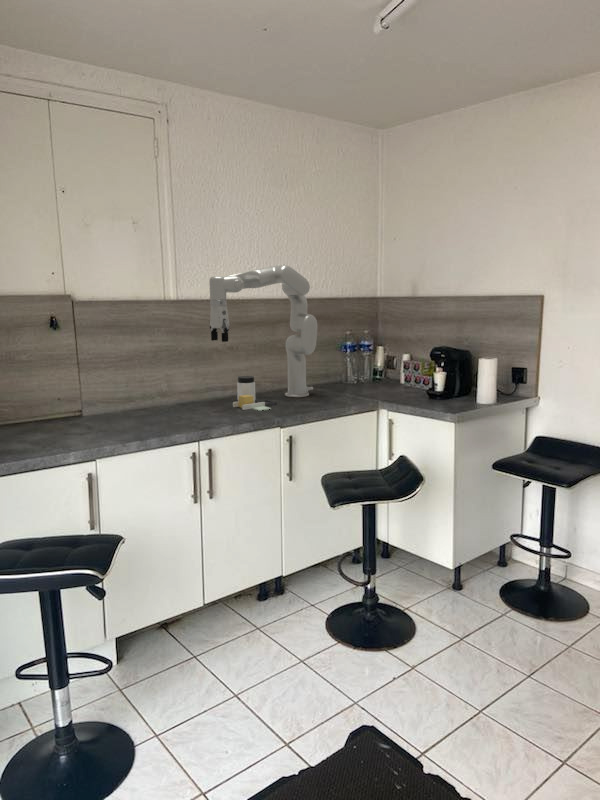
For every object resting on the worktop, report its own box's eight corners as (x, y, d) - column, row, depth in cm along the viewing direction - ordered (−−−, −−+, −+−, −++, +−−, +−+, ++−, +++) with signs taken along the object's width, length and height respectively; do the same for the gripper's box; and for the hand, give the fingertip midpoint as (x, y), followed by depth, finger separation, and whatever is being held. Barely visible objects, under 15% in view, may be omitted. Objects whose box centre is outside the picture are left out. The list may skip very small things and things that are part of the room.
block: (247, 405, 276) (247, 394, 274) (253, 407, 272) (253, 396, 271) (238, 407, 273) (238, 395, 272) (244, 408, 269) (244, 397, 268)
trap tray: (267, 402, 284) (267, 399, 284) (276, 404, 278) (276, 402, 278) (255, 403, 280) (255, 401, 279) (264, 406, 274) (264, 403, 274)
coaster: (263, 407, 272) (263, 405, 272) (271, 409, 267) (271, 408, 267) (251, 408, 268) (251, 407, 268) (259, 411, 263) (259, 409, 263)
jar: (237, 402, 284) (237, 378, 282) (237, 399, 292) (236, 376, 289) (255, 401, 285) (255, 377, 283) (255, 398, 293) (254, 375, 291)
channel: (254, 403, 280) (254, 399, 280) (265, 406, 273) (264, 402, 272) (232, 406, 273) (232, 402, 273) (243, 410, 266) (243, 405, 265)
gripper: (235, 303, 261) (236, 341, 264) (216, 303, 274) (217, 339, 277) (220, 304, 256) (222, 342, 259) (202, 303, 270) (203, 340, 273)
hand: (219, 340), depth 268 cm, fingers open, 9 cm apart
